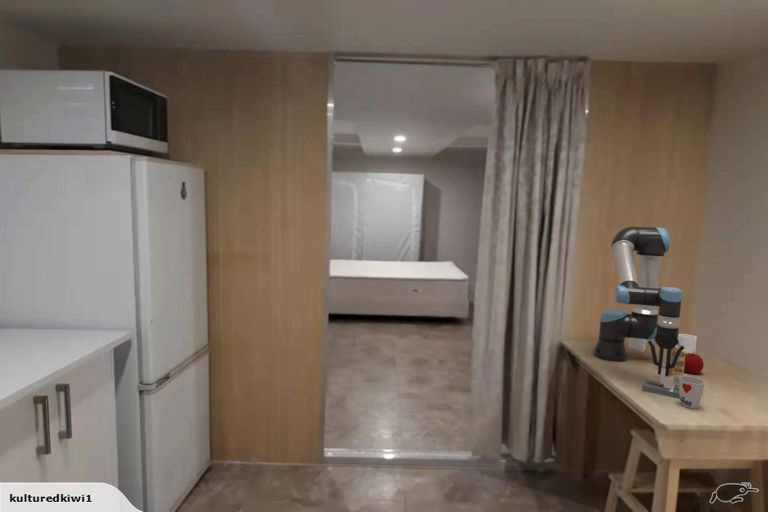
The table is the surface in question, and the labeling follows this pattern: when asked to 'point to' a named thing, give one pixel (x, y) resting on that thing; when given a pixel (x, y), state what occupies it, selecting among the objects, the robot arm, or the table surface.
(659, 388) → the console
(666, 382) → the fader tab
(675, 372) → the candy box
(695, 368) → the apple
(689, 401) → the cup
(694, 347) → the mug
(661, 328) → the robot arm
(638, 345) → the toilet paper
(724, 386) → the table surface
